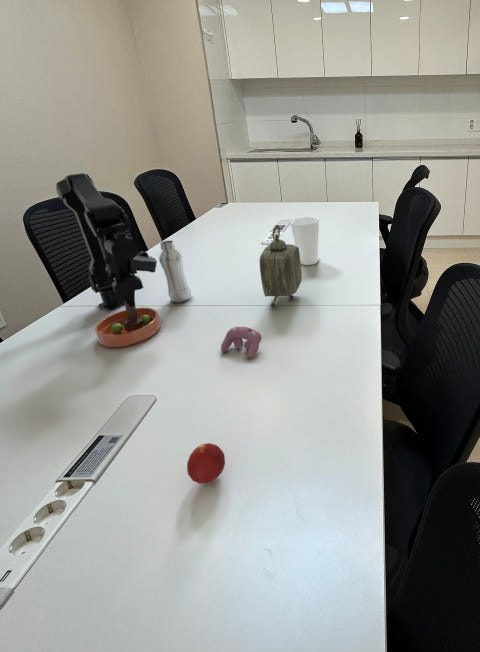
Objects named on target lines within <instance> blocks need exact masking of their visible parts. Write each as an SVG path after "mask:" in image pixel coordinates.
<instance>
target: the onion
mask: <svg viewBox="0 0 480 652" xmlns="http://www.w3.org/2000/svg"><path fill="white" fill-rule="evenodd" d="M225 465H226V457H225V453H224V451H223V450H222V449H221V447H219V445H217V444H214V443H210V442H209V443H208V442H207V443H202V444H199V445H198V446H197V447H195V448H194V449H193V450H192V452H191V453H190V455H189V457H188V460H187V463H186V471H187V475H188V477H189V478H190V479H191V481H193V482H195V483H197V484H207V483H210V482H213V481H215V480H216V479H218V478H219V476H220V475H221V474H222V473H223V471H224V468H225Z"/></svg>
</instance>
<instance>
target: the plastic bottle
mask: <svg viewBox="0 0 480 652" xmlns="http://www.w3.org/2000/svg"><path fill="white" fill-rule="evenodd" d="M159 244H160V249H161V250H162V251H161V253H160V254H159V257H158V259H159V264H160V266H161V268H162V270H163V273H164V276H165V279H166V284H167V294H168V297H169V300H170V301H172V302H174V303H182V302H185V301H187V300H189V299H190V298H191V296H192V292H191V288H190V285H189V284H188V281H187V278H186V276H185V269H184V262H183V255H182V254H181V253H180V251H178V250H177V249H176V245H175V242H174V240H164V241H161V242H160V243H159Z"/></svg>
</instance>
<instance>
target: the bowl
mask: <svg viewBox="0 0 480 652" xmlns="http://www.w3.org/2000/svg"><path fill="white" fill-rule="evenodd" d="M136 312H137V318H140V317H141V316H143V315H149V316H151V318H152V321H151V322H150V323H149V324H148V325H143V327H142V328H140V329H137V330H134V331H126V330H125V329H124V321H126V320H127V314H126V309H124V310H121V311H118V312H114V313H112V314H111V315H108V316H106V317H104V318H103V319H102V320H100V321H99V322H98V323H97V324H96V325H95V329H94V332H95V335H96V337H97V340H98V342H99V344H100V345H101V346H104V347H109V348H118V347H125V346H131V345H134V344H137V343H140V342H142V341H144V340H147V339H148V338H150V337H152V336H154V335H155V334H156V333H157V332H159V330H160V328H161V327H162V321H161V318H160V315H159V312H158V310H156V309H154V308H151V307H136ZM115 323H119V324H121V325H122V326H123V331H122V332H121V333H119V334H113V333H112V332H111V326H112V325H113V324H115Z"/></svg>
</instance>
